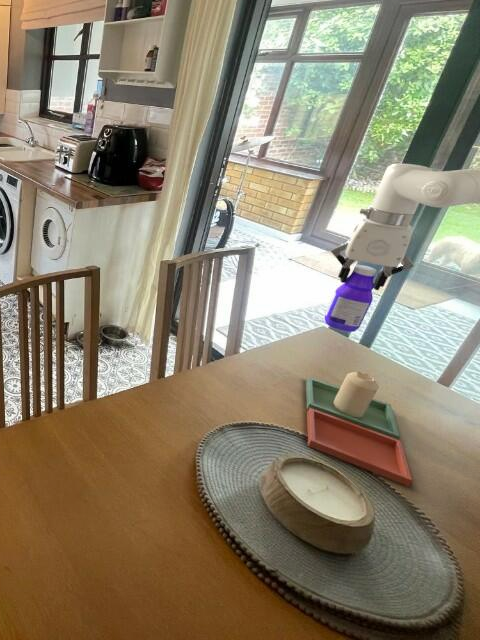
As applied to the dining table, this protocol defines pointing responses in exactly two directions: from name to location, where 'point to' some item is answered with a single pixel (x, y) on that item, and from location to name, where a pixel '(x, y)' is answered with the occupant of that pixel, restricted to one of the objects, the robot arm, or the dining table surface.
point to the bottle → (351, 300)
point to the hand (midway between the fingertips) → (358, 283)
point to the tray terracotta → (358, 446)
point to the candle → (356, 394)
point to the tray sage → (373, 418)
